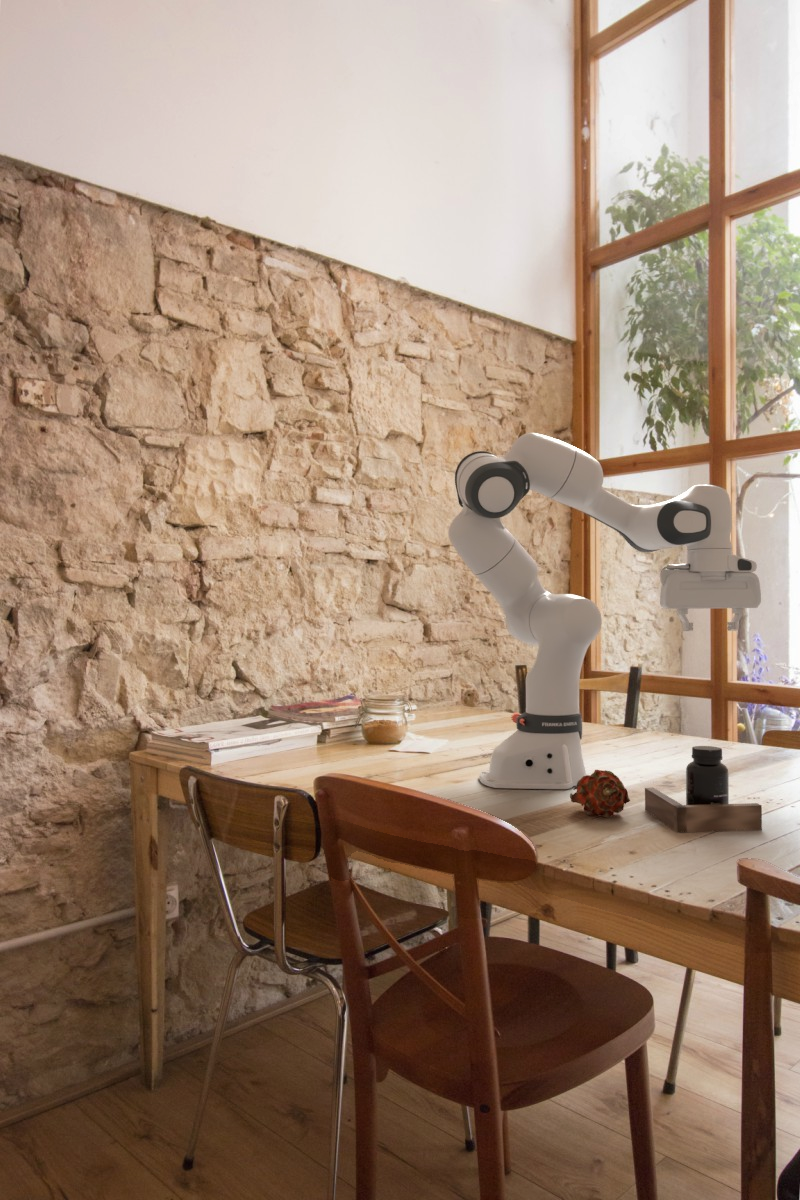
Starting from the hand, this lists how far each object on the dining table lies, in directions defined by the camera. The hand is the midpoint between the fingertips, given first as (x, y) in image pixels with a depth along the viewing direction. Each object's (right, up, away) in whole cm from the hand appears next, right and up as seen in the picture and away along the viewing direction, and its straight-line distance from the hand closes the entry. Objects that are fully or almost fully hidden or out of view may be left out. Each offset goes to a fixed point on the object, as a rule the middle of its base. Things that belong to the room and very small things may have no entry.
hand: (710, 630), depth 177 cm
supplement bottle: (-12, -31, -31) cm, 46 cm away
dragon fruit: (-29, -32, -26) cm, 50 cm away
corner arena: (-13, -31, -31) cm, 46 cm away
